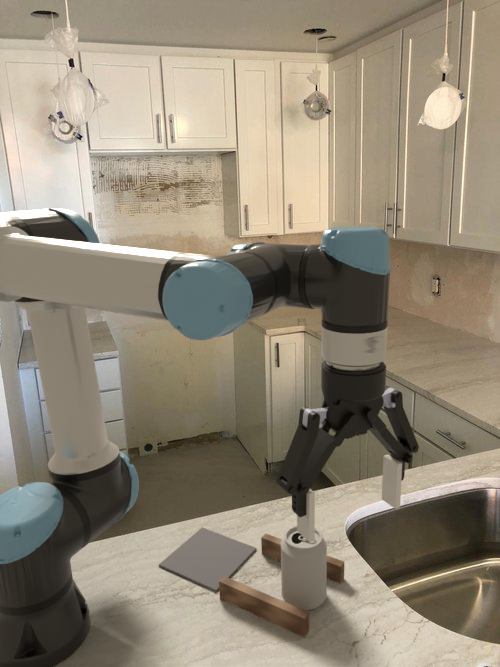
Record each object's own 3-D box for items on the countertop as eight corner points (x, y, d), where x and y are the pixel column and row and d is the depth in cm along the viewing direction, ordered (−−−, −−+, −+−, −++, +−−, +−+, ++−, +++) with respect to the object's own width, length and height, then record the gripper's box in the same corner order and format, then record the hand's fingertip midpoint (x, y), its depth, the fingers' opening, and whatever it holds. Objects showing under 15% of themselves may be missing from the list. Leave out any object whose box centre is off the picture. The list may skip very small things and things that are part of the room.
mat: (159, 566, 100) (158, 564, 100) (202, 529, 111) (202, 527, 110) (216, 591, 93) (216, 590, 93) (256, 549, 104) (256, 547, 104)
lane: (219, 598, 92) (218, 581, 91) (265, 549, 104) (265, 533, 103) (304, 637, 83) (304, 618, 82) (344, 578, 95) (344, 561, 94)
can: (285, 579, 96) (283, 519, 93) (328, 584, 94) (328, 523, 91) (278, 611, 89) (276, 547, 85) (324, 617, 87) (324, 552, 84)
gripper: (279, 391, 55) (282, 569, 61) (454, 351, 66) (443, 504, 72) (244, 370, 62) (250, 533, 67) (409, 337, 73) (402, 479, 78)
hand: (350, 518), depth 70 cm, fingers open, 13 cm apart
